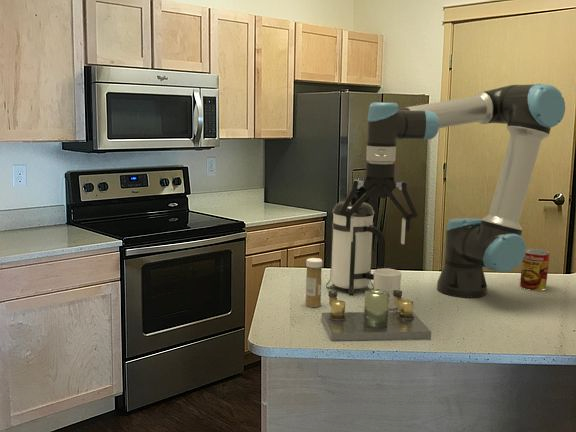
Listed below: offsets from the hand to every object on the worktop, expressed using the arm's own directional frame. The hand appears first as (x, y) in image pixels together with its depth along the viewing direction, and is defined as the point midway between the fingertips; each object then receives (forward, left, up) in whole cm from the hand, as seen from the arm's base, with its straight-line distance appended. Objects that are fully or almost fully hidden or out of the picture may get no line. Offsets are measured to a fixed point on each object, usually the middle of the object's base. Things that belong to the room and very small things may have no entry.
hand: (376, 242), depth 169 cm
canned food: (-59, -26, -21) cm, 68 cm away
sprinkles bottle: (+15, -10, -21) cm, 28 cm away
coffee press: (0, -25, -21) cm, 33 cm away
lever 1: (+11, +3, -18) cm, 22 cm away
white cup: (-6, -9, -21) cm, 24 cm away
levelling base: (+2, +10, -21) cm, 23 cm away
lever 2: (-7, +3, -18) cm, 20 cm away
